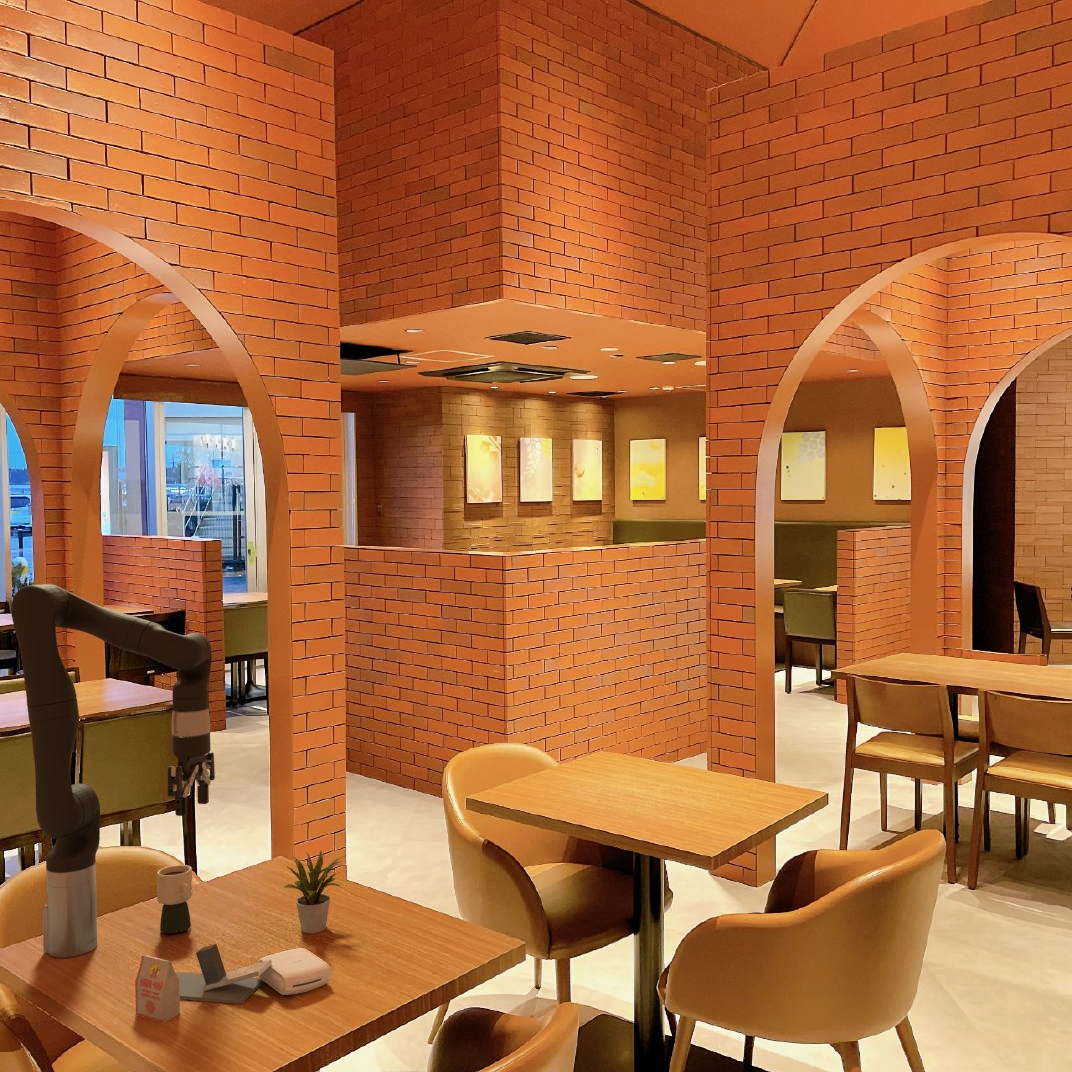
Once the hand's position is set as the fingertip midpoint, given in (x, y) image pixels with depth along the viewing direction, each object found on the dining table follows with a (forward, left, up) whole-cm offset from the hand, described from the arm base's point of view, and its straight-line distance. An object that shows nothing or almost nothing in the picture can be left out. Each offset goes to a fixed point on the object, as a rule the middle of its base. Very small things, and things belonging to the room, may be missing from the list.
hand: (192, 809), depth 208 cm
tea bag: (+9, -28, -28) cm, 41 cm away
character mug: (-8, +6, -28) cm, 30 cm away
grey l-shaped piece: (+19, -18, -26) cm, 37 cm away
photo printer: (+23, -9, -26) cm, 36 cm away
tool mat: (+13, -18, -28) cm, 36 cm away
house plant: (+22, +11, -28) cm, 37 cm away
